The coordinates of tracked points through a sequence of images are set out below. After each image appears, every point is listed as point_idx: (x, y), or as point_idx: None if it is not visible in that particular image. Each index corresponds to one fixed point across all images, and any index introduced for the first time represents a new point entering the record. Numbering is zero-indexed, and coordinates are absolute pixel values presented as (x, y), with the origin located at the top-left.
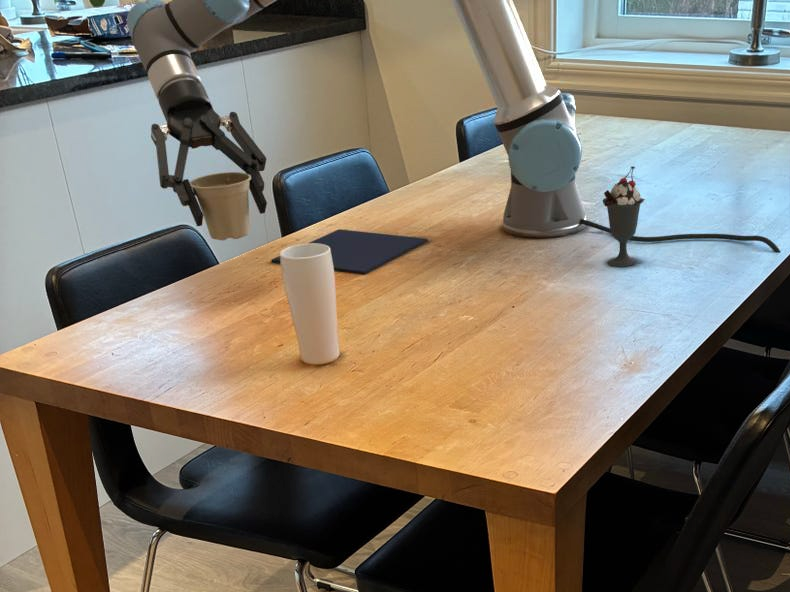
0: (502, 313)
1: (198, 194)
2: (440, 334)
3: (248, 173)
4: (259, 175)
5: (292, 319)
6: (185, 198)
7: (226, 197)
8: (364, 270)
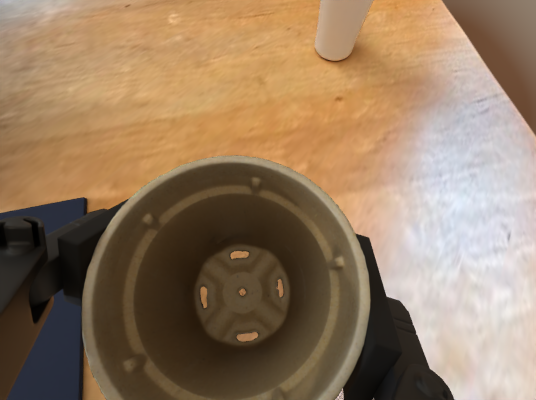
0: (147, 4)
1: (344, 281)
2: (222, 12)
3: (95, 242)
4: (64, 230)
5: (368, 11)
6: (393, 304)
7: (278, 197)
8: (79, 199)
